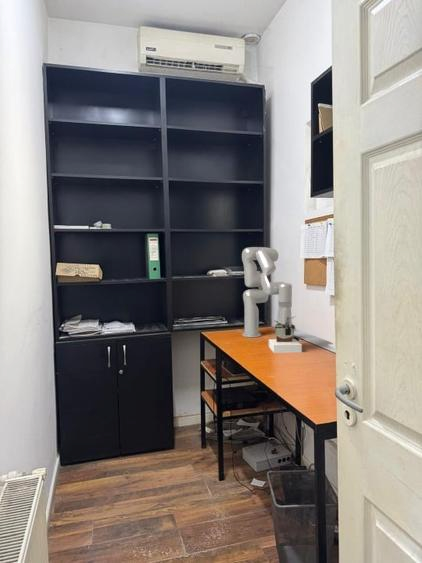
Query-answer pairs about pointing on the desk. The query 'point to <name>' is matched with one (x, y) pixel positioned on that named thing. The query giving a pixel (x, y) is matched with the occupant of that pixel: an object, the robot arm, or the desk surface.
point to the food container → (283, 333)
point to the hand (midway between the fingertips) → (284, 333)
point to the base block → (285, 346)
